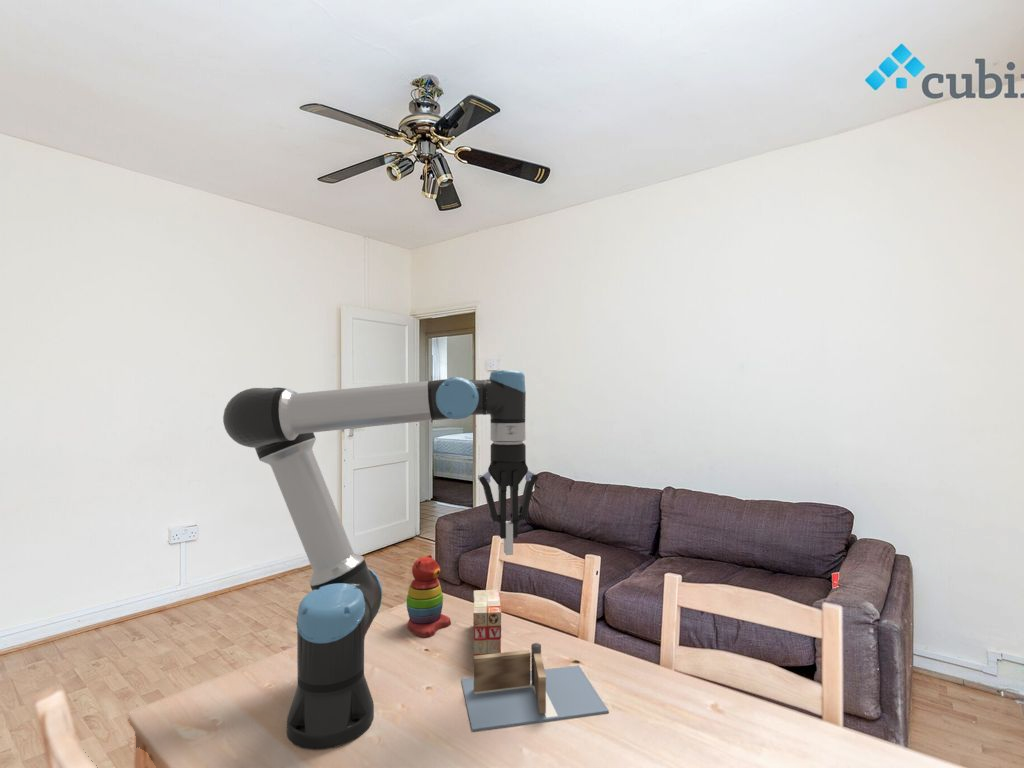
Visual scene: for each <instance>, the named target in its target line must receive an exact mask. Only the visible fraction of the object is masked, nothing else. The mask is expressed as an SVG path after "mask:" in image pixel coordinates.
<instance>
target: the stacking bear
mask: <svg viewBox="0 0 1024 768" xmlns="http://www.w3.org/2000/svg"><path fill="white" fill-rule="evenodd" d="M411 572H412V577H413V579H412V581H411V582H410V585H409V587H408V591H407V595H406V611H407V614H408V618H409V619H408V620H407V624H406V625H407V629H408V631H409V632H410V633H411V634H413V635H415V636H418V637H420V638H430V637H432V636H435V633H436V632H437V630H440V629H443V628H446V627H449V626H450V625H451V623H452V621H451V618H450V617H449V616H448V615H446V614H445V615H444V614H442V611H443V606H444V605H443V604H444V596H443V595H444V594H443V592H442V587H441V583H440V580H439V579H438V577H439V576H440V573H441V567H440V565H439V564H438V562H437V561H436V560H435V559H434V558H433V556H432V555H431V554H428V555H427V556H423V557H420V558H418V559H416V560H415V561H414V563H413V564H412V568H411Z"/></svg>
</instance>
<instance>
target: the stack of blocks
mask: <svg viewBox="0 0 1024 768" xmlns="http://www.w3.org/2000/svg"><path fill="white" fill-rule="evenodd" d="M472 611H473V629H472V631H473V632H472V635H473V648H472V649H473V650H472V652H473V653H472V656H473V658H472V661H473V662H472V665H473V666H472V667H473V668H474V656H477V655H486V654H496V653H502V648H501V647H502V608H501V597H500V594H499V590H498V589H480V590H479V589H478V590H477V589H476V590H473V610H472Z"/></svg>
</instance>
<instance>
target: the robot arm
mask: <svg viewBox="0 0 1024 768" xmlns="http://www.w3.org/2000/svg"><path fill="white" fill-rule="evenodd" d="M474 415H475V416H476V415H484V416H486V415H489V416H490V438H489V439H490V441H491V442H492V443H491V444H490V463H489V465H488V469H487V471H486V472H484V473H483V474H480V475H478V476H477V477H478V478H477V479H478V481H479V482H480V484H481V485H482V488H483V492H484V496H485V499H486V505H487V509H488V512H489V517H490V518H491V520H492V521H493V522H497V523H498V535H499V537H500V539H503V553H504V554H505V556H514V539H516V538H518V535H519V532H518V531H519V529H518V528H519V527H518V526H519V523H520V521H522V520H526V518H527V516H528V512H529V507H530V502H531V498H532V494H533V491H534V490H533V489H534V486H535V484H536V483H537V481H538V479H539V476H538V475H537V474H535V473H533V472H531V471H530V470H529V468H528V465H527V462H526V461H527V460H526V459H527V458H526V452H527V450H526V444H525V443H523V442H525V441H526V376H525V374H524V373H523V371H521V370H515V369H512V370H511V369H508V370H507V369H505V370H502V369H501V370H492V371H491V372H490V375H489V379H468V378H465V377H464V378H463V376H461V377H460V376H457V377H449V378H445V379H436V380H424V381H413V382H412V381H411V382H406V383H405V382H403V383H393V384H384V385H383V384H382V385H373V386H371V385H370V386H362V387H354V388H353V387H351V388H342V389H330V390H321V391H320V390H319V391H311V392H310V391H309V392H301V393H298V392H296V391H294V390H292V389H290V388H285V387H269V388H268V387H252V388H247V389H244V390H242V391H240V392H238V393H237V394H235V395H234V396H233V397H232V398H230V400H229V401H228V402H227V404H226V406H225V408H224V411H223V417H222V419H223V420H222V421H223V426H224V429H225V431H226V433H227V434H228V436H229V437H230V438H231V439H232V440H233V441H234V442H236V443H237V444H239V445H240V446H243V447H247V448H252V449H253V448H254V449H255V452H256V456H257V457H258V460H259V461H260V462H263V463H265V464H267V465H270V467H271V469H272V470H271V471H272V472H273V475H274V477H275V480H276V482H277V484H278V485H277V486H278V487H279V490H280V492H281V495H282V497H283V500H284V503H285V505H286V507H287V510H288V512H289V515H290V517H291V519H292V521H293V525H294V527H295V530H296V532H297V534H298V537H299V539H300V541H301V542H300V543H301V544H302V547H303V549H304V552H305V554H306V557H307V559H308V562H309V564H310V567H311V570H312V571H313V572H312V575H311V578H310V581H309V586H310V588H311V591H310V592H308V593H306V595H305V596H304V597H303V598H302V599H301V601H300V603H299V605H298V610H297V617H296V631H297V634H296V635H297V639H296V640H297V643H296V644H297V654H296V655H297V659H296V660H297V668H296V669H297V685H296V689H295V692H294V696H293V698H292V702H291V704H290V708H289V710H288V714H287V717H286V737H287V739H288V740H289V741H290V743H292V744H293V745H294V746H296V747H299V748H302V749H306V750H327V749H332V748H337V747H339V746H343V745H346V744H347V743H350V742H351V741H355V739H357V738H359V737H360V736H361V735H363V734H364V733H365V732H366V731H367V730H368V729H369V728H370V727H371V725H372V723H373V721H374V717H375V715H374V714H375V713H374V712H375V711H374V710H375V709H374V708H375V705H374V700H373V696H372V694H371V691H370V688H369V684H368V682H367V679H366V676H365V638H366V635H367V633H368V631H369V629H370V627H371V625H372V623H373V621H374V620H375V618H376V616H377V614H378V613H379V610H380V607H381V605H382V600H383V586H382V583H381V580H380V578H379V576H378V575H377V573H375V571H374V570H372V569H371V568H369V566H368V565H367V562H366V560H365V558H364V556H363V555H361V554H359V553H356V552H354V551H353V548H352V545H351V543H350V541H349V538H348V535H347V533H346V530H345V528H344V526H343V523H342V521H341V517H340V515H339V512H338V511H337V508H336V506H335V503H334V501H333V499H332V496H331V493H330V491H329V488H328V486H327V482H326V481H325V478H324V476H323V473H322V471H321V468H320V466H319V464H318V461H317V458H316V456H315V453H314V451H313V447H314V445H315V443H316V439H317V438H316V436H315V433H320V432H322V433H323V432H330V431H331V432H332V431H341V430H348V429H350V430H351V429H360V428H369V427H371V428H372V427H381V426H391V425H398V424H400V425H401V424H407V423H408V424H411V423H418V422H428V421H439V420H440V421H441V420H461V419H465V418H468V417H470V416H474ZM491 477H492V479H493V480H494V482H495V483H496V484H497V491H498V513H497V508H496V504H495V501H494V497H493V493H492V488H491V485H490V483H491ZM524 478H525V481H526V482H525V484H524V487H523V492H522V497H521V500H520V506H519V486H520V485H519V484H521V482H522V481H523V479H524ZM508 487H509V492H510V493H509V496H510V498H509V501H510V502H509V504H510V506H509V510H510V515H509V517H510V520H507V492H508V491H507V490H508V489H507V488H508Z"/></svg>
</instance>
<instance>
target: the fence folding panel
mask: <svg viewBox="0 0 1024 768" xmlns="http://www.w3.org/2000/svg"><path fill="white" fill-rule="evenodd" d="M544 669H545V666H544V662H543V658H542V653H541V654H534V687H535V692H536V697H537V703H538V708H539V713H546V674H545V670H544Z"/></svg>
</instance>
